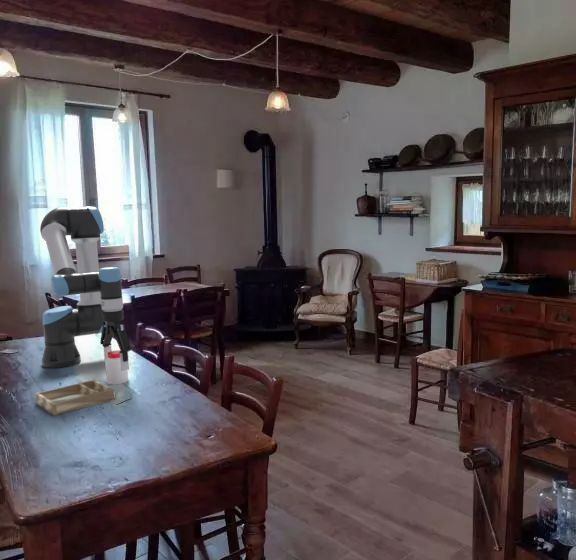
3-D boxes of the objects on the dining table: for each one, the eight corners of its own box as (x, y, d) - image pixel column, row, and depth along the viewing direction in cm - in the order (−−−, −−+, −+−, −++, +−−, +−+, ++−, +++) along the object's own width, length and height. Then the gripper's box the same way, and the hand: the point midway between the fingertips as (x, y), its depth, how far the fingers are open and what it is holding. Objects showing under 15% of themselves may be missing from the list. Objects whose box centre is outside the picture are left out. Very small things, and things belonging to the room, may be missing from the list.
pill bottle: (101, 382, 208) (99, 353, 207) (117, 377, 215) (115, 348, 213) (117, 385, 205) (115, 355, 203) (132, 379, 211) (130, 350, 210)
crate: (36, 403, 188) (35, 393, 187) (94, 389, 201) (93, 379, 200) (53, 415, 176) (52, 404, 175) (114, 399, 189) (113, 389, 189)
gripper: (88, 308, 213) (92, 363, 215) (117, 314, 195) (122, 375, 197) (107, 305, 218) (111, 359, 220) (138, 311, 199) (142, 370, 202)
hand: (116, 366), depth 209 cm, fingers open, 13 cm apart
